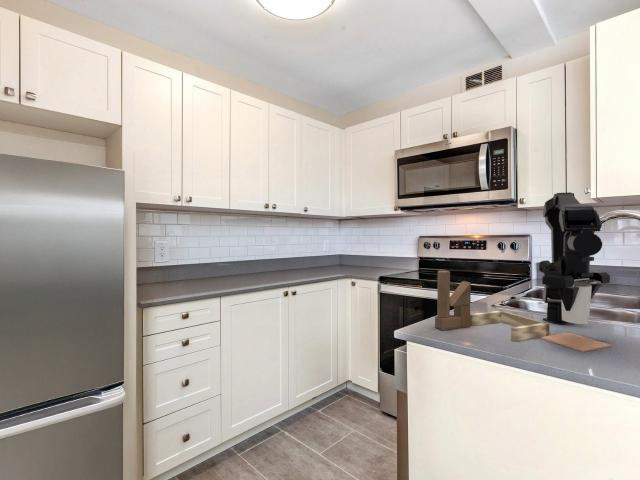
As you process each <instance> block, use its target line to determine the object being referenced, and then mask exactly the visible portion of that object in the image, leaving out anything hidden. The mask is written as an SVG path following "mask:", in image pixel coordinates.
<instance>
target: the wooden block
mask: <svg viewBox="0 0 640 480" xmlns="http://www.w3.org/2000/svg"><path fill="white" fill-rule="evenodd" d="M450 285H451V272H450V270H444V269H443V270H438V271H437V309H436V310H437V314H436V315H435V316H434V328H435V329H439V330H440V331H446V330H454V329H463V328H470V327H471V326H470V314H471V300H472V299H471V297H472V296H471V292H472V291H471V290H472V289H471V286H472V285H471V282H469V281H466V280H465V281H464V280H462V281H461V282H460V283H459V284H458V286H457V287H456V289H455V290H454V291H453V293H452V294H450V293H451V289H450V288H451V286H450ZM451 307H453V314H450V312H451V311H450V310H451Z"/></svg>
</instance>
